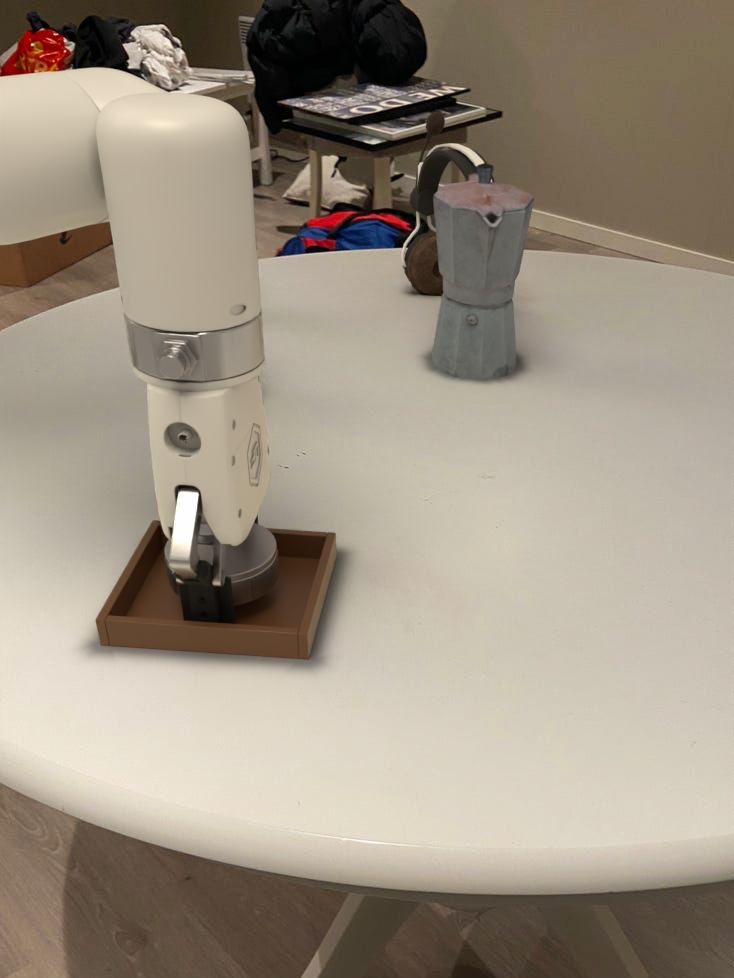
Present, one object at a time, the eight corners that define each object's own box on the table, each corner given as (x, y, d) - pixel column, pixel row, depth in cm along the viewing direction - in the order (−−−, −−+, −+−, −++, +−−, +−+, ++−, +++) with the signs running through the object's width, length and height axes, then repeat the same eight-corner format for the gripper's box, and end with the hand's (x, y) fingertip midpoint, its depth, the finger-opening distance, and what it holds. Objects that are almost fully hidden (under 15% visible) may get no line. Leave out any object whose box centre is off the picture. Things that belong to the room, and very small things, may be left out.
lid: (287, 551, 69) (285, 522, 68) (266, 611, 64) (264, 580, 62) (185, 543, 69) (181, 514, 68) (155, 603, 64) (150, 572, 62)
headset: (386, 287, 122) (387, 106, 110) (439, 279, 126) (446, 103, 113) (460, 333, 111) (471, 138, 99) (516, 324, 115) (533, 134, 102)
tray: (101, 652, 63) (94, 619, 61) (157, 550, 73) (152, 519, 71) (308, 666, 63) (307, 634, 61) (337, 562, 73) (336, 532, 71)
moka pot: (438, 398, 97) (447, 179, 85) (414, 339, 109) (419, 140, 96) (532, 395, 99) (554, 181, 87) (499, 338, 111) (513, 142, 98)
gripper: (226, 410, 50) (253, 679, 61) (290, 295, 63) (302, 531, 74) (77, 399, 50) (130, 671, 60) (173, 286, 63) (202, 524, 74)
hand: (225, 592), depth 67 cm, fingers closed on lid, 7 cm apart
